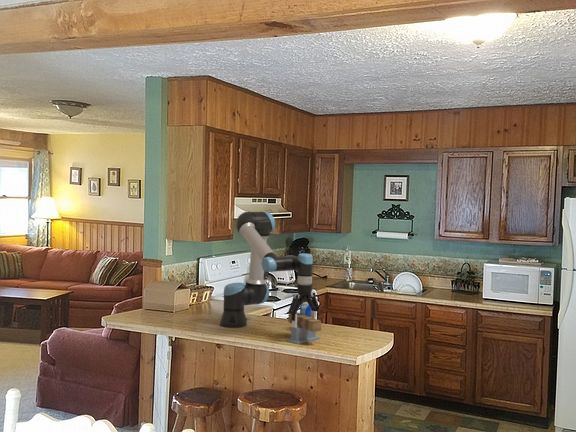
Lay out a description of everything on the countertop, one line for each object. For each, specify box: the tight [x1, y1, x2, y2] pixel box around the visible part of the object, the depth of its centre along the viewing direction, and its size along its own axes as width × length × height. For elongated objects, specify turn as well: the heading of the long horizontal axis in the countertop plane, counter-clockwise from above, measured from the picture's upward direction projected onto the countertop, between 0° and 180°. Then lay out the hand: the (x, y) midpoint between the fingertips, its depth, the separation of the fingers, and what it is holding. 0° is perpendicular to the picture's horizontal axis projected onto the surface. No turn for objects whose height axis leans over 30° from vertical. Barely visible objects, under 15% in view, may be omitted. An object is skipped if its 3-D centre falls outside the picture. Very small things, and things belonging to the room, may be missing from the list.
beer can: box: [299, 302, 313, 317], centre depth 322 cm, size 8×8×16 cm
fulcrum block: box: [286, 326, 321, 345], centre depth 304 cm, size 8×16×7 cm, turn 134°
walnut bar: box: [288, 311, 322, 333], centre depth 303 cm, size 24×5×5 cm, turn 29°
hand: (303, 325), depth 303 cm, fingers open, 13 cm apart
